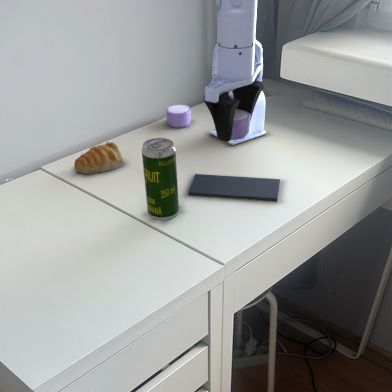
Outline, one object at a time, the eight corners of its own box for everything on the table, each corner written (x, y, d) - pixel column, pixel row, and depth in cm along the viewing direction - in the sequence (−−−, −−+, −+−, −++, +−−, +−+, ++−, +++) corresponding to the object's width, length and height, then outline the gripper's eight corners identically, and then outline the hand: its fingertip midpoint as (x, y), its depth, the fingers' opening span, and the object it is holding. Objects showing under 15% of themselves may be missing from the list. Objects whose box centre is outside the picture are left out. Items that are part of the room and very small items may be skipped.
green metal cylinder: (162, 202, 90) (157, 134, 81) (185, 211, 87) (182, 142, 79) (141, 214, 87) (133, 145, 78) (164, 225, 84) (158, 154, 76)
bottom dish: (182, 117, 117) (181, 102, 115) (196, 124, 114) (195, 109, 112) (161, 123, 115) (160, 108, 113) (175, 130, 112) (174, 115, 109)
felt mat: (188, 195, 91) (187, 192, 91) (195, 176, 96) (195, 173, 96) (277, 201, 89) (277, 198, 88) (279, 182, 94) (280, 179, 93)
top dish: (228, 125, 89) (228, 106, 87) (255, 132, 87) (256, 112, 85) (210, 136, 86) (210, 116, 84) (238, 143, 84) (239, 123, 81)
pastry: (86, 180, 96) (82, 160, 94) (69, 168, 100) (64, 149, 97) (127, 165, 100) (124, 146, 98) (109, 154, 104) (106, 136, 101)
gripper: (238, 29, 83) (235, 114, 92) (187, 51, 74) (190, 143, 84) (276, 34, 80) (269, 122, 89) (227, 59, 71) (226, 153, 81)
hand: (233, 133), depth 86 cm, fingers closed on top dish, 5 cm apart
